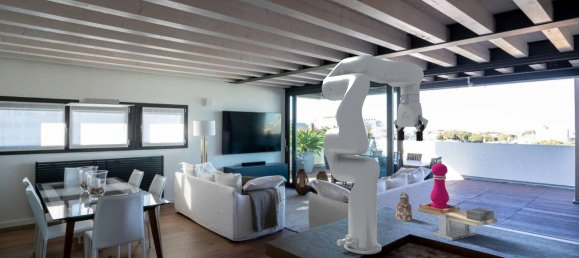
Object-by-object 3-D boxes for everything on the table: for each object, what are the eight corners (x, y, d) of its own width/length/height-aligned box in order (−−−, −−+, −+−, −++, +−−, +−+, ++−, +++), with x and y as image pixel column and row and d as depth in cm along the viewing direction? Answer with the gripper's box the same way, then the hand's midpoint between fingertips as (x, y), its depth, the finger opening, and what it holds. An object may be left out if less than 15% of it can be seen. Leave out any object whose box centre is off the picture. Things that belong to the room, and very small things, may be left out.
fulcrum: (451, 240, 122) (451, 217, 122) (433, 234, 129) (433, 212, 129) (477, 234, 129) (477, 212, 129) (458, 229, 136) (458, 208, 136)
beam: (476, 226, 115) (476, 213, 115) (418, 211, 137) (418, 200, 138) (496, 222, 121) (496, 209, 121) (437, 208, 143) (437, 198, 143)
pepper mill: (445, 206, 140) (445, 159, 140) (452, 210, 133) (452, 160, 133) (427, 206, 141) (427, 159, 141) (433, 210, 134) (433, 160, 134)
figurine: (396, 220, 149) (396, 193, 150) (395, 216, 156) (394, 191, 157) (413, 221, 148) (413, 194, 148) (411, 217, 155) (410, 191, 155)
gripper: (388, 101, 145) (388, 140, 145) (420, 97, 130) (420, 141, 130) (400, 102, 148) (400, 140, 148) (433, 98, 133) (433, 141, 133)
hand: (410, 140), depth 139 cm, fingers open, 9 cm apart
